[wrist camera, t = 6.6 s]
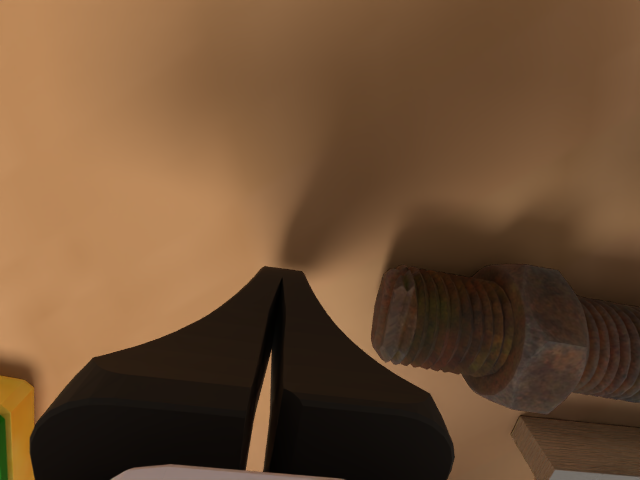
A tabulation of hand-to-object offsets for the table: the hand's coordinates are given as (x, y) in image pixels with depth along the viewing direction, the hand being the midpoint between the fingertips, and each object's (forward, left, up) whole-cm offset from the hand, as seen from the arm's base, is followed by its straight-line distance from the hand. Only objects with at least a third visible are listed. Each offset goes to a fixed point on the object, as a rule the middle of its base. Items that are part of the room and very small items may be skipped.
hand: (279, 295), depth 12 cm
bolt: (0, -11, -2) cm, 11 cm away
